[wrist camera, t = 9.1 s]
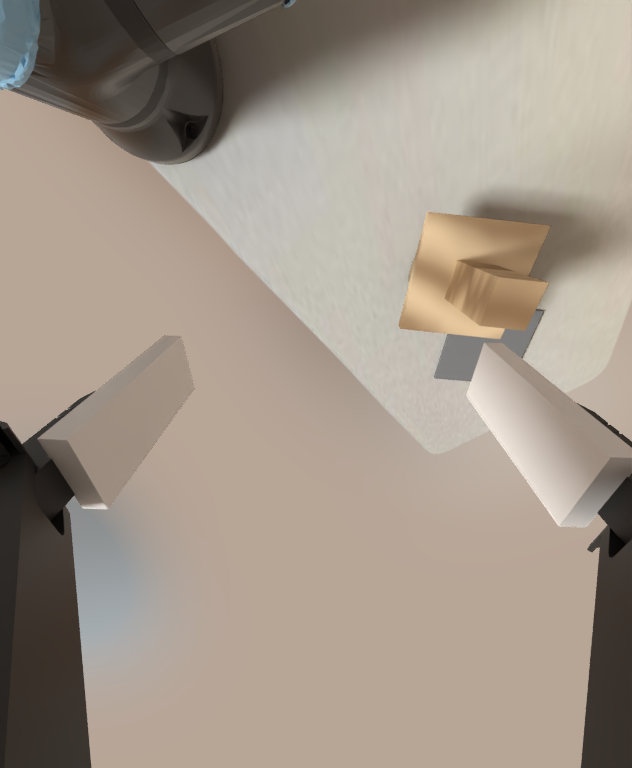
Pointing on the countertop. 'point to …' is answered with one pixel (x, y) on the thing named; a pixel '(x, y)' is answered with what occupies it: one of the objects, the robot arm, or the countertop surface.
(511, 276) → the wooden plaque with block
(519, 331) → the mat
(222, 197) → the countertop surface
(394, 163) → the countertop surface
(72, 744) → the robot arm
